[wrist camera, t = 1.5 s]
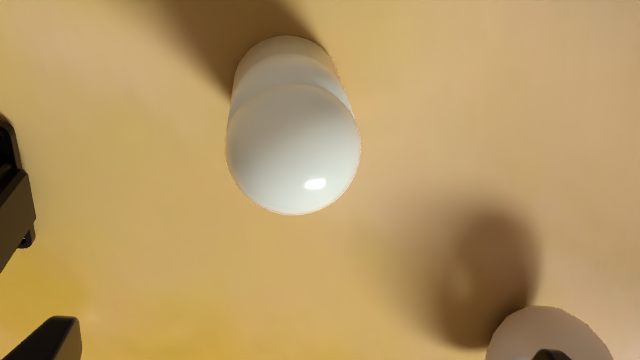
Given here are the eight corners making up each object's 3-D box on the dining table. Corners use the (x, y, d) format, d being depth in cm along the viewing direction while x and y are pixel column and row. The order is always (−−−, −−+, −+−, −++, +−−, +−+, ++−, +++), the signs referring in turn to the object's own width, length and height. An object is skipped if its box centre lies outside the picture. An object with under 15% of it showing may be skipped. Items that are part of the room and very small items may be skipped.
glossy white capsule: (229, 129, 20) (215, 238, 14) (237, 27, 18) (224, 107, 12) (329, 140, 21) (355, 247, 15) (349, 43, 19) (389, 125, 13)
